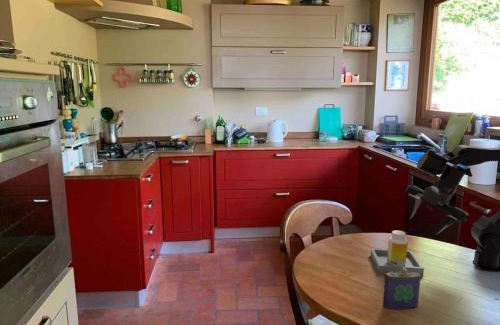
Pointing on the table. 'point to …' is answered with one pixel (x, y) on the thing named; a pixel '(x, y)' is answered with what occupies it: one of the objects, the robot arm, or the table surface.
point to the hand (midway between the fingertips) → (422, 226)
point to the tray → (384, 267)
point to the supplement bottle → (397, 248)
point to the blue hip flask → (401, 290)
